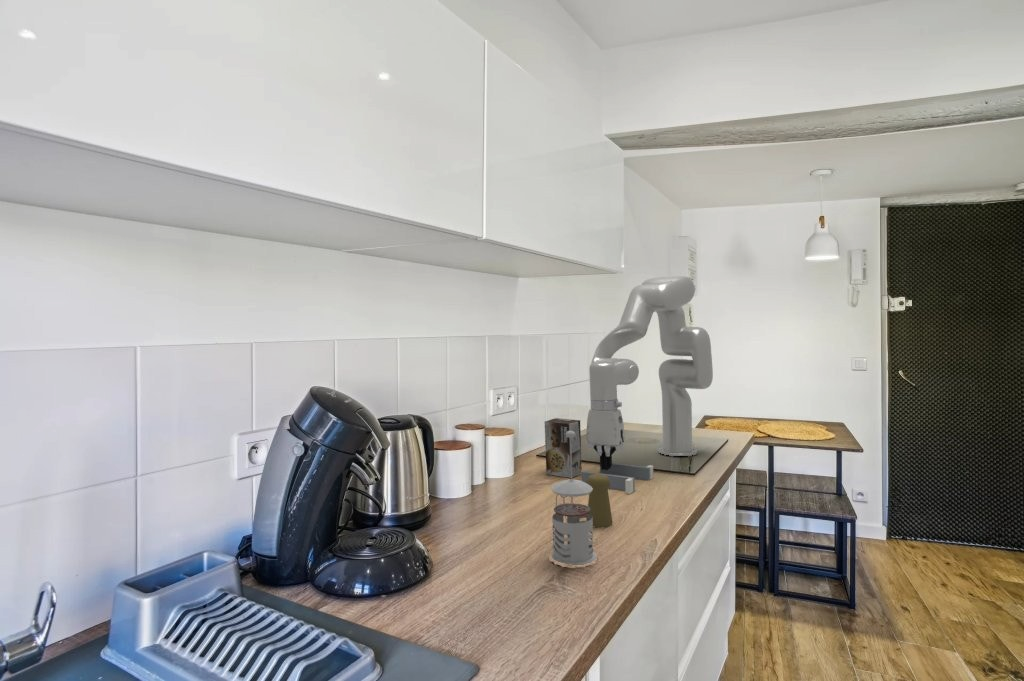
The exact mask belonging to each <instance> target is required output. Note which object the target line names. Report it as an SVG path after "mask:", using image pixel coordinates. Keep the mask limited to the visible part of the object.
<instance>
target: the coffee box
mask: <svg viewBox="0 0 1024 681" xmlns="http://www.w3.org/2000/svg"><path fill="white" fill-rule="evenodd" d="M567 431H574V432H575V437H571V451H572V478H575V477H577V476H580V475H582V472H583V470H582V442H581V441H582V440H581V438H582V436H581V420H579V419H570V418H557V417H555V418H552V419H549V420H545V421H544V442H545V443H544V444H545V446H544V447H545V471H546V472H545V473H546V475H548V474H549V476H556V477H562V478H568V479H571V463H570V437H566V432H567Z"/></svg>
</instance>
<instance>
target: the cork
mask: <svg viewBox="0 0 1024 681" xmlns="http://www.w3.org/2000/svg"><path fill="white" fill-rule="evenodd" d="M587 484H588V485H590V486H591V487H592V488H593V490H592V492H591V493H590V494H588V499H587V500H588V501H587V506H589V508H590V509H591V510H590V512H589V514H591V515H592V518H593V526H595V527H594V528H597V527H604V528H608V527H607V526H609V527H611V526H612V525H613V524H614V522H613V516H612V510H611V501H610V496H609V489H610V488H609V487H610V479H609V477H608V476H606V475H603V474H593V475H590V476H589V477H588V479H587ZM585 519H586V520H585V521H589V520H590V519H589V518H585ZM612 523H613V524H612ZM610 525H611V526H610Z"/></svg>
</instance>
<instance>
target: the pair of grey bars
mask: <svg viewBox="0 0 1024 681" xmlns="http://www.w3.org/2000/svg"><path fill="white" fill-rule="evenodd" d="M593 474H603V475H606V476H608V477H609V479H610V487H609V489H610V490H611V489H612V490H619V491H625V494H626V495H627V494H628V495H631V494H632V493H633V492H635V491H636V481H635V480H642V481H648V480H649V481H651V480H652V479H653V478H654V465H650V464H648V465H646V466H642V465H632V464H626V463H625V464H624V463H623V464H622V463H615V462H612V466H611V468H610V469H608V470H601V466H600V465H599V472H595V471H594V472H593V471H585V470H582V474H581V481H582V482H585V483H587V479H588V477H589V476H590V475H593ZM650 479H651V480H650Z"/></svg>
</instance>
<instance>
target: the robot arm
mask: <svg viewBox="0 0 1024 681" xmlns="http://www.w3.org/2000/svg"><path fill="white" fill-rule="evenodd" d="M695 291H696V286H695V284H694V280H692V279H691V278H690V277H688V276H684V275H682V276H668V277H667V276H666V277H665V276H664V277H654V278H649V279H646V280H644V281H643V282H642V283H641V284H640V285H637V286H635V287H633V288H632V289H631V291H630V293H629V296H628V298H627V302H626V304H625V306H624V310H623V312H622V316H621V318H620V321H619V324H618V325H617V326H616V327H615V328H614V329H612V330H611V331H610V332H609V333H608V334H607V335H605V337H604V338H603V339H602V340H600V342H599V344H598V345H597V346H596V348H595V350H594V354H593V355H592V360H591V362H590V365H589V391H590V392H589V393H590V394H589V397H590V398H589V399H590V409H588V413H587V418H586V441H587V447H588V448H590V449H593V450H595V451H596V453H597V455H598V456H599V467H600V466H601V470H608V469H610V468H611V466H612V463H613V459H612V458H613V456H612V455H613V454H615V452H618V451H622V450H624V449H625V447H624V443H625V441H626V439H625V438H626V436H625V427H624V425H625V424H624V418H623V415H622V411H621V409H619V408H622V407H623V402H622V401H619V399H618V390H617V389H618V385H620V386H621V385H624V386H626V385H627V386H628V385H631V384H633V383H634V382H636V381H637V379H638V378H639V373H640V370H639V366H638V364H637V363H636V362H635V361H634V360H632V359H629V358H614V357H613V356H614V355H615V353H617V352H618V351H619V350H620V349H622V348H624V347H625V346H628V345H631V344H633V343H635V342H637V341H639V340H641V339H643V338H644V337H645V336H646V335H647V332H648V329H649V325H650V323H651V320H652V318H653V314H654V313H656V315H657V319H658V327H659V328H658V329H659V340H660V347H661V351H662V353H664V354H665V355H668V356H674V357H675V356H676V357H677V356H678V357H691V358H692V359H687V358H685V359H684V358H681V359H680V358H670V359H666V360H664V361H663V362H661V364H660V365H659V367H658V378H659V383H660V388H661V390H660V391H661V397H662V398H661V401H662V403H661V405H662V406H661V408H662V409H661V411H662V413H661V414H662V446H661V447H658V449H657V450H658V454H660V453H661V454H660V455H662V454H664V455H663V456H666V455H669V456H668V457H673V456H688V457H693V456H696V455H697V454H698V450H697V448H695V447H693V416H692V415H693V414H692V413H693V412H692V411H693V409H692V408H693V405H692V404H693V403H692V399H691V396H690V394H689V392H688V391H687V389H691V390H705V389H708V388H710V386H711V385H712V382H713V378H714V371H713V370H714V369H713V356H712V345H711V338H710V335H709V333H708V331H707V330H706V329H704V328H703V327H700V326H699V327H698V326H687V324H686V323H687V322H686V317H685V316H686V315H685V311H684V308H683V306H685V305H687V304H689V303H691V301H692V300H693V298H694V295H695V293H696V292H695ZM692 455H693V456H692Z"/></svg>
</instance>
